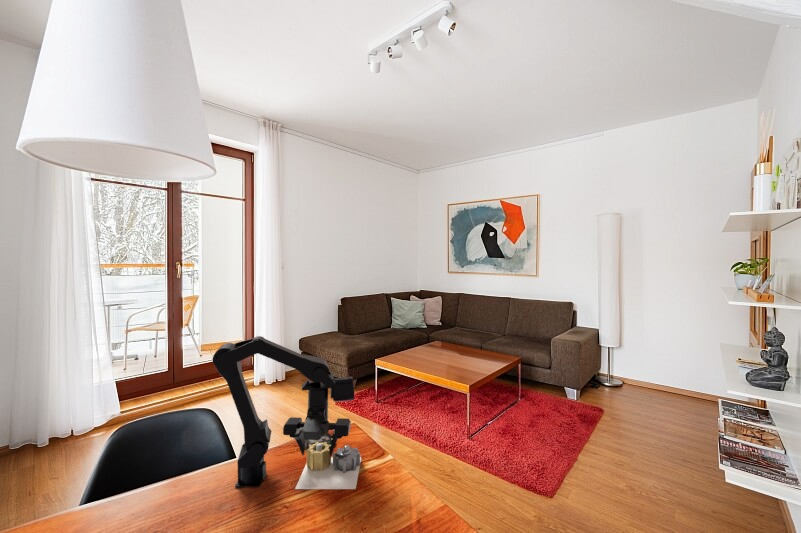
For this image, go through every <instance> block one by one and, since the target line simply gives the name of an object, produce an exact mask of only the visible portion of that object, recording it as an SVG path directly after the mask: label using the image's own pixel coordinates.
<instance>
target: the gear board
mask: <svg viewBox="0 0 801 533" xmlns="http://www.w3.org/2000/svg"><path fill="white" fill-rule="evenodd" d="M321 450H322V444H321V443H319V444H317V445H316V451H321ZM361 462H362V457H361V456H360V464H361ZM360 469H361V465H360V466H357V467H356V470H355V471H353V470H351V471H346V473H343V471H339V470H337V471H335V470H334V466H333V456H331V462H330V467H329V468H328V467H326V468H324V469H323V471H320V470H314V471H311V468H310V467H308V468H307V462H306V463H305V466H304V468H303V470H302V472H301V475H300V476H299V479H298V482H297V483H296V486H295V488H294V490H356V488H357V485H358V484H357V483H358V478H359V473H360Z"/></svg>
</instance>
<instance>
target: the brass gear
mask: <svg viewBox="0 0 801 533" xmlns="http://www.w3.org/2000/svg"><path fill="white" fill-rule="evenodd" d="M317 444H319V443H318V442H316V443H315V444H313V445H309V446H308V449H307V448H306V463H307V468H308V467H310V468H311V471H314V470H320V471H323V469H324V468H326V467H328V468H329V467H330V462H331V457H332V456H330V449H331V445H328V444H327V442H324V443H321V444H322V450H321V451H316V445H317Z"/></svg>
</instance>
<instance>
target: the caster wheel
mask: <svg viewBox="0 0 801 533" xmlns="http://www.w3.org/2000/svg"><path fill="white" fill-rule="evenodd" d="M332 435H333V434H331V433H328V434H324V436H321V439H320V440H305V451H307V449H308V446H309V445H313V444H315V443H316V442H318V443H324V442H327V444H328V445H331V441H332Z"/></svg>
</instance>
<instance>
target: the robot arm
mask: <svg viewBox="0 0 801 533" xmlns="http://www.w3.org/2000/svg"><path fill="white" fill-rule="evenodd" d="M257 354H259V355H261V356H263V357H265V358H268V359H271V360H274V361H275V362H278V363H280V364H282V365H284V366H285V365H286V366H288V367H290V368H291V369H295V370H297V372H299V373H301V375H302V376H304V377H305V378H306V380H305V381H304V382H303V383H302V384H301V390H302V391H307V398H308V399H307V410H306V411H307V412H306V417H305V420H304V421H303V418H302V417H293V416H292V417H290V416H289V418H288V419H287V421H286V422H285V423H284V425H283V428H282V434H283V435H284V436H289V438H291V439H292V438H293V439H294V440H295V442H296V443H297V445H298V448H299V450H300V454H301V456H304V455H305V454H306V453H305V452H306V450H305V440H320V439H321V436H324V434H329V431H333V432H332V434H331V435H332V441H331V449H330V456H331V457H333V452H334V449H335V446H336V443H337V442H338V440H339V439H340V440H341V439H342V438H343V437H348V436H349V434H350V431H351V425H352V423H351V422H352V421H351V420H350V418H340V417H339V418H337V420H336V422H329V420H328V419H329V398H330V399H332V400H333V402H334V403H338V402H352V401H354V399H355V390H354V389H355V388H354V378H353V376H346V377H335V376H334V375H333V373H332V372H331V371H330V368H329V365H328V361H326V360H325V359H324V358H322V357H319V356H316V355H307V354H303V353H299V352H297V351H294V350H292V349H290V348H288V347H285V346H282V345H280V344H278V343H276V342H273V341H271V340H268V339H267V338H265V337H264V336H261V335H258V336H257V335H256V336H255V337H253V338H250V339H245V340H240V341H239V342H235V343H232V342H226V343H224V344H221V346H220V347H219V348H218V349H217V350H216V351H215V352H214V354H213V356H212V363H213V366H214V367H215V369H216V370H217V372H218V374H219V375H220V376H221V377H222V378H223V379H224V380H225V382H226V384H227V386H228V389H229V392H230V394H231V395H230V396H231V397H232V400H233V404H234V405H235V408H236V411H237V414H238V416H239V419H240V422H241V424H242V427H243V436H244V437H243V438H244V440H243V441H244V442H243V444H242V445H241V448H240V452H239V455H238V459H237V482H236V483H235V484H234V487H235V488H258V487H260V486H261V483H262V482H263V481H264V479H265V477H266V476H267V462H266V461H265V455H266V454H267V452H268V450H269V445H270V442H271V436H272V435H271V434H272V430H271V428H270V427H269V422H268V419H264V420H263V421H262V420H261V419H260V417H259V416H258V413H257V411H256V407H255V404H254V402H253V399H252V396H251V394H250V391H249V389H248V385H247V382H246V380H245V376H244V375H243V369H242V367H243V366H242V361H244V360H246V359H247V358H250V357H252V356H253V355H257Z"/></svg>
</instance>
